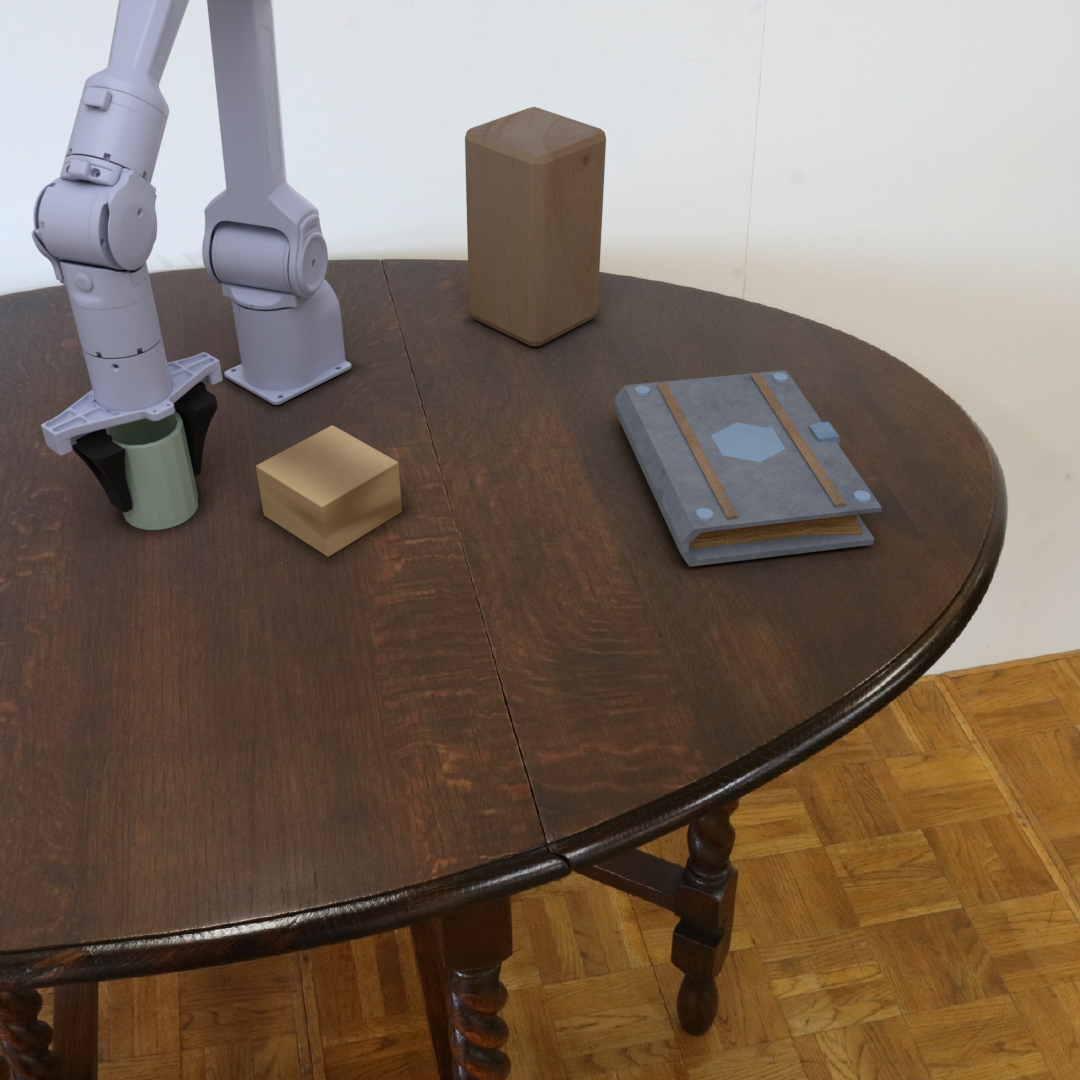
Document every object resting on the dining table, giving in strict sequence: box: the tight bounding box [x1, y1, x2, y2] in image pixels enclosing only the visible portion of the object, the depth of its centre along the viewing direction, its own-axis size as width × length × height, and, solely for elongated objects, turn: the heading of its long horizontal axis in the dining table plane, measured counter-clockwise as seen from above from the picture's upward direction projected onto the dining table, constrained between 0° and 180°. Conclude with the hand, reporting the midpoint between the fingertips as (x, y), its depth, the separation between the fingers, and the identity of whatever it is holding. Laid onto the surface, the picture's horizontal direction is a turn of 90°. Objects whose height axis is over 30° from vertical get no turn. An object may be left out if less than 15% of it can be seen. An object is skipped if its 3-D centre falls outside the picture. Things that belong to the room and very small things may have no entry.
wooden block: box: [464, 106, 607, 347], centre depth 117 cm, size 10×10×20 cm
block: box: [255, 424, 403, 558], centre depth 96 cm, size 8×8×5 cm
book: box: [613, 369, 883, 567], centre depth 100 cm, size 21×16×5 cm
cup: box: [106, 411, 200, 531], centre depth 95 cm, size 6×6×8 cm
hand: (156, 488), depth 96 cm, fingers closed on cup, 6 cm apart
